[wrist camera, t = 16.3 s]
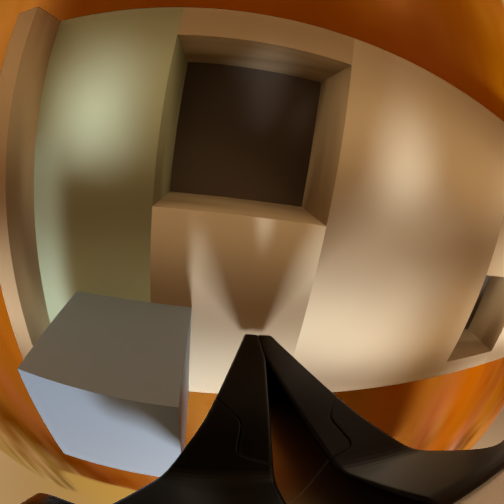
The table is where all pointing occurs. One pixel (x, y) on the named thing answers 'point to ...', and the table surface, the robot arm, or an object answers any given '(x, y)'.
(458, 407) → the table surface
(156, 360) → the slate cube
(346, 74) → the board
